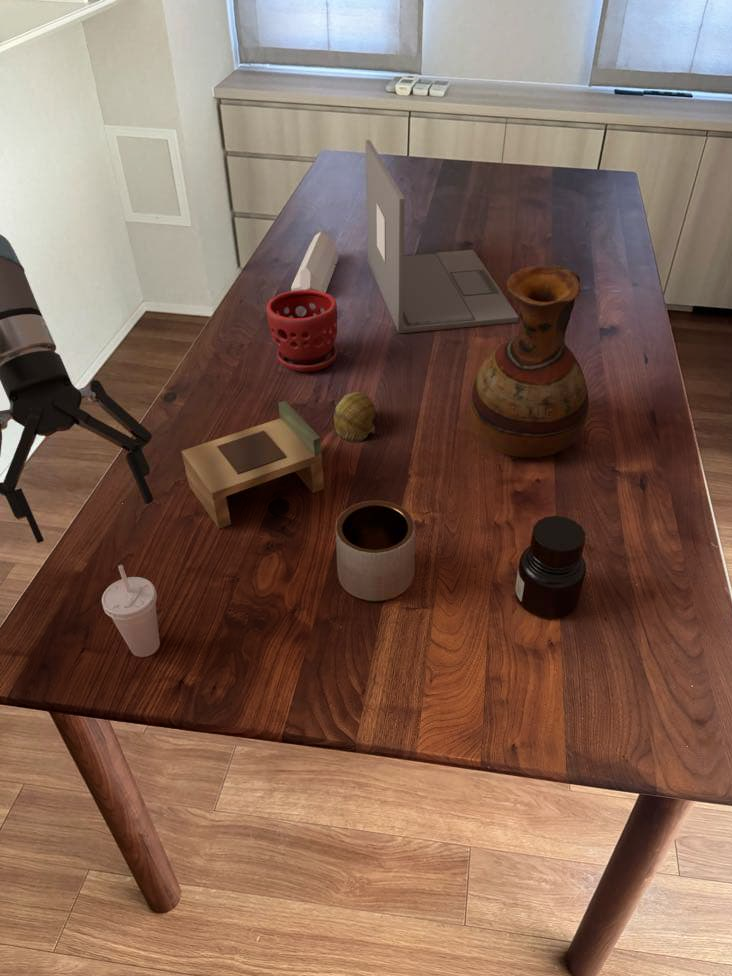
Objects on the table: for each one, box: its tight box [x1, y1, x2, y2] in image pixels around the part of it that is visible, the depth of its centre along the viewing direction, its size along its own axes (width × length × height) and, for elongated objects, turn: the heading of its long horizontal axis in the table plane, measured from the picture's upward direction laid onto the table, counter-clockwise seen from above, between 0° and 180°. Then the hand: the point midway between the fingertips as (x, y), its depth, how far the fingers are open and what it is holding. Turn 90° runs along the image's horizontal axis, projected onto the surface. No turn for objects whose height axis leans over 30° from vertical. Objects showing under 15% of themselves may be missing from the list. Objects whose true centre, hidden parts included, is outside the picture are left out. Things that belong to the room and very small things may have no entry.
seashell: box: [333, 391, 376, 443], centre depth 138 cm, size 10×7×8 cm
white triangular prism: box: [290, 230, 339, 293], centre depth 180 cm, size 7×7×24 cm
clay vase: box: [470, 263, 590, 458], centre depth 128 cm, size 20×20×30 cm
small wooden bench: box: [181, 400, 325, 530], centre depth 123 cm, size 18×12×10 cm, turn 123°
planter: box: [334, 500, 416, 602], centre depth 109 cm, size 11×11×10 cm
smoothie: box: [101, 564, 161, 658], centre depth 98 cm, size 6×6×14 cm
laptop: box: [365, 139, 520, 334], centre depth 169 cm, size 35×26×27 cm
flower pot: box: [265, 290, 338, 373], centre depth 152 cm, size 13×13×12 cm
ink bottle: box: [514, 515, 587, 620], centre depth 106 cm, size 10×9×12 cm
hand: (96, 521), depth 98 cm, fingers open, 13 cm apart
